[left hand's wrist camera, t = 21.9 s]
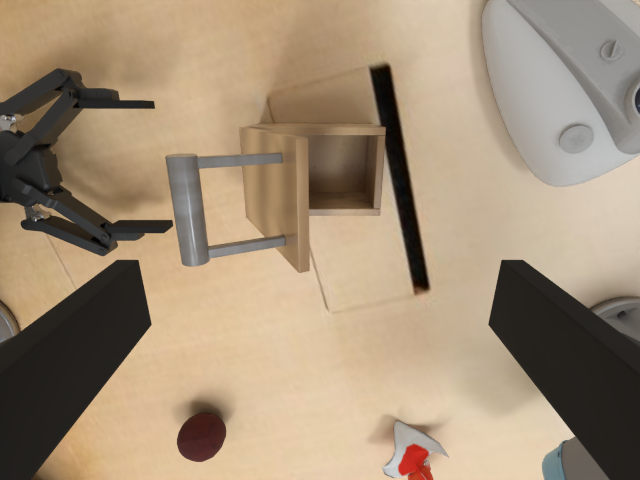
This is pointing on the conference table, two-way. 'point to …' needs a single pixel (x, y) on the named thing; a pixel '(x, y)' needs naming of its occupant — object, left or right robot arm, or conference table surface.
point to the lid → (248, 197)
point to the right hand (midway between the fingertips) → (159, 169)
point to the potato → (201, 437)
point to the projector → (566, 83)
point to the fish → (411, 453)
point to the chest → (341, 166)
